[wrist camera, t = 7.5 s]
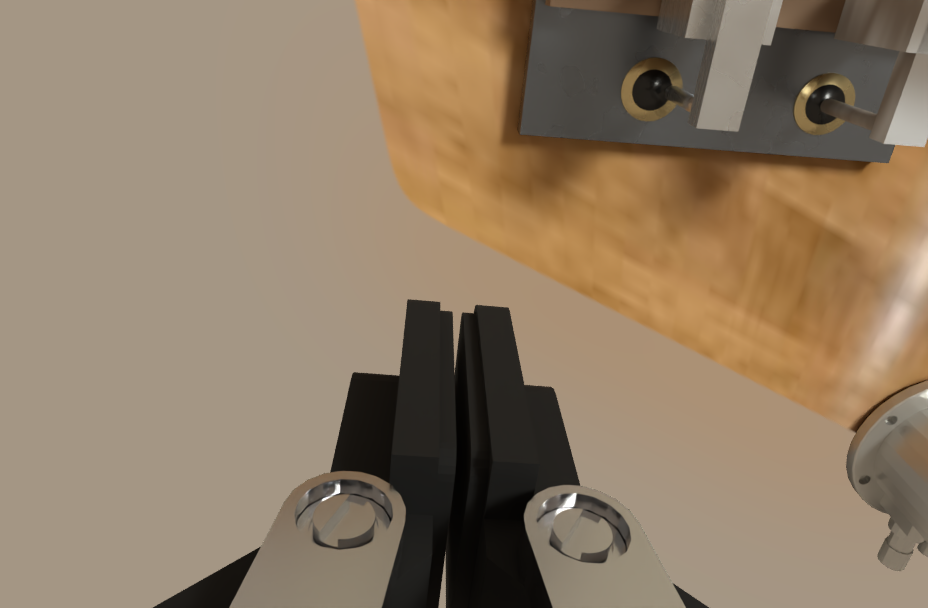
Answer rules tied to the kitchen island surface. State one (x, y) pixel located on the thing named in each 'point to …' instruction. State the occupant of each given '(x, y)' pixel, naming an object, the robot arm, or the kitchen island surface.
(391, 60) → the kitchen island surface
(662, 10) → the sliding leg
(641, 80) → the bolt plate
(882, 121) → the frame
